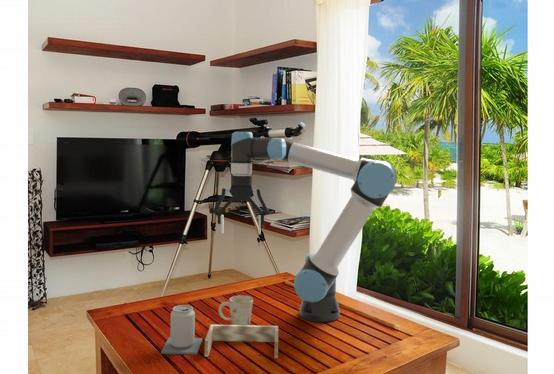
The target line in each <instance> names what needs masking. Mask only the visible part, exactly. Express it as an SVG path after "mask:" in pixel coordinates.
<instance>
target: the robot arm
mask: <svg viewBox="0 0 554 374" xmlns="http://www.w3.org/2000/svg"><path fill="white" fill-rule="evenodd" d="M230 147H231V150H230V152H231V153H230V155H231V160H230V173H231V176H230V188H226V187H223V188H221V189H222V190H221V195H220V196H219V199H218V200H217V202H216V204H215V206H214V208H213V210H212V214H215V215H217V225H220V234H221V235H222V234H224V222H225V221H224V214H223V213H224V212H225V211H226V209H228V207H230V205H231V204H232V203H233V202H234V201H236V202H241V201H242V202H246V201H248V202H249V203H250V204H251V205H252V206H253V208H254V209H255V210H256V211H257V212H258V214H259V215H258V226H257V227H258V231H257V232H258V233H257V234H258V235H261V233H262V232H261V231H262V230H261V227H262V226H263V225H264V224H265V216H267V215H269V214H270V211H269V208H268V206H267V205H266V202H265V200H264V198H263V196H262V194H261V193H262V192H261V189H260V188H255V189H253V180H252V179H253V177H252V174H253V160H256V159H258V160H259V159H260V160H273V161H275V160H276V161H278V160H280V161H283V162H284V161H285V162H289V163H293V164H297V165H299V166H303V167H306V168H309V169H314V170H316V171H321V172H324V173H328V174H331V175H334V176H338V177H342V178H345V179H348V180H352V181H353V184H352V186H351V187H350V193H351V197H350V198H349V199H348V201H347V203H346V205H345V207H344V208H343V210H342V211H341V212H340V213H339V214H340V215H339V216H338V218H337V220H336V221H335V222H334V224H333V226H332V227H331V229H330V230H329V232H328V234H327V236H326V237H325V238H324V240H323V243H322V244H321V245H320V246H319V249H318V250H317V252H316V253H313V254H311V253H309V254H307V255H306V256H305V260H304V262H305V263H304V264H303V267H302V268H301V270H300V271H299V272H297V274H296V275H295V277H294V282H293V288H294V291H295V293H296V294H297V296H298V298H300V299H301V300H302V301H301V304H300V306H299V316H300V317H301V318H303V319H305V320H308V321H312V322H317V323H318V322H321V323H323V322H324V323H325V322H333V321H336V320H337V319H339V318H340V316H341V315H340V312H341V311H340V307H339V303H338V300H337V296H336V291H337V290H336V289H337V288H336V286H337V278H338V275H340V273H339V266H340V264H341V262H342V261H343V259H344V257H345V256H346V254H347V253H348V252H349V250H350V249H351V246H352V245H353V244H354V242H355V240H356V239H357V237H358V235H359V233H360V232H361V231H362V229H363V228H364V226H365V225H366V223H367V221H368V220H369V218H370V216H371V215H372V213H373V212H374V210H376V209H379V208H380V209H381V207H382V206H383V204H384V203H385V201H386V200H387V198H388V196H389V195H390V193H392V191H393V190H394V188H395V186H396V183H397V180H398V174H397V171H396V169H395V168H394V166H393V165H392V164H391V163H389V162H388V161H385V160H382V159H381V160H377V159H369V158H365V157H362V158H359V159H358V158H354V157H351V156H347V155H342V154H340V153H339V154H338V153H335V152H331V151H328V150H323V149H319V148H318V147H317V148H316V147H312V146H310V145H309V146H308V145H305V144H302V143H298V142H293V141H290V140H287V139H285V138H282V137H254V136H253V133H252V132H251V131H234V132H233V133H231V144H230ZM228 193H229V194H230V195H231V198H230V199H229V200H227V202H226V203H225V204H224V205H223V206H222V207H221V209H220V210H219V208H220V206H221V204H222V202H223V201H224V199H225V196H226V195H228ZM253 194H255V196H257V199H258V201H259V203H260V204H261V207H262V208H260V207H259V205H258V204H257V202H255V200H254V199H253V197H252V195H253ZM262 209H263V210H264V211H263V210H262Z"/></svg>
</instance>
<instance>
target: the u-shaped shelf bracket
mask: <svg viewBox="0 0 554 374" xmlns="http://www.w3.org/2000/svg"><path fill="white" fill-rule="evenodd" d="M253 341H257V342H259V343H260V342H262V343H267V342H268V343H274V359H279V326H278V325H254V324H253V325H232V324H210V326H209V328H208V331H207V334H206V336H205V339H204V358H205V357H209V355H210V352H211V350H212V349H211V348H212V346H213V342H253ZM257 342H256V343H257Z"/></svg>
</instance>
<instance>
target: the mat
mask: <svg viewBox="0 0 554 374" xmlns="http://www.w3.org/2000/svg"><path fill="white" fill-rule="evenodd" d="M203 341H204V340H203V337H195V342H194V343H193V344H192V345H191V346H190V347H188V348H183V349H180V348H175V347H174V346H173V345H171V344H170V336H169V337H168V338H167V340H166V342H165V344H164V345H163V347H162V349H161V350H160V354H161V355H198V353H199V350H200V348H201V345H202V343H203Z"/></svg>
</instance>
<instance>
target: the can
mask: <svg viewBox="0 0 554 374" xmlns="http://www.w3.org/2000/svg"><path fill="white" fill-rule="evenodd" d="M193 308H194V307H193V306H191V305H188V304H180V305H175V306H174V307H172V311H171V312H170V333H169V334H170V335H169V337H170V344H171V345H173V346H174V347H175V348H180V349H183V348H188V347H190V346H191V345H192V344H193V343H194V342H195V338H196V336H195V334H196V333H195V331H196V330H195V329H196V328H195V327H196V326H195V325H196V324H195V323H196V321H195V320H196V312H195V311H194V310H193Z"/></svg>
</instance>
